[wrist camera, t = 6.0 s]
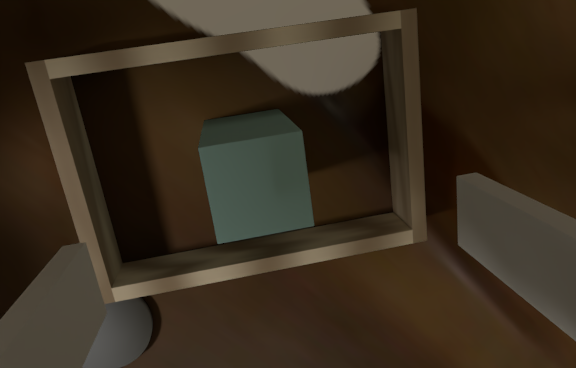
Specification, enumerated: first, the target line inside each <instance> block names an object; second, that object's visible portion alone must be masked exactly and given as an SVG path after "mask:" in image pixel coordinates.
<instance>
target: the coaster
mask: <svg viewBox="0 0 576 368" xmlns="http://www.w3.org/2000/svg"><path fill="white" fill-rule="evenodd" d="M105 307H106V311H107V314H106V316H105V318H104V321H103V323H102V325H101V327H100V329H99V331H98V334H97V336H96V338H95V340H94V342H93V345H92V347H91V349H90V351H89V353H88V356H87V358H86V360H85V362H84V364H83V367H82V368H120V367H123V366H125V365H127V364H129V363H131V362H132V361H134V360H135V359H137V358H138V357H139V356H140V355H141V354H142V353H143V352H144V350H145V349H146V347H147V345H148V343H149V341H150V338H151V334H152V328H153V319H152V314H151V311H150V309H149V307H148V305H147V304H146V302H145V301H144V300H143V299H142V297H138V298H133V299H128V300H123V301H118V302H113V303H108V304H105Z"/></svg>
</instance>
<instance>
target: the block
mask: <svg viewBox="0 0 576 368" xmlns="http://www.w3.org/2000/svg"><path fill="white" fill-rule="evenodd" d="M198 150H199V155H200V160H201V165H202V169H203V174H204V179H205V184H206V189H207V194H208V199H209V204H210V209H211V214H212V219H213V224H214V228H215V233H216V238H217V243H218V244H221V243H227V242H232V241H237V240H243V239H248V238H253V237H259V236H264V235H269V234H275V233H280V232H285V231H291V230H296V229H301V228H306V227H312V226H314V219H313V212H312V204H311V196H310V188H309V180H308V173H307V165H306V157H305V149H304V142H303V134H302V130H301V129H300V128H298V127H297V126H296V125H295V124H294V123H293V122H292V121H291V120H290V119H289V118H288V117H287V116H285V115H284V114H283V113H282V112H281V111H280V110H279V109H274V110H267V111H261V112H255V113H249V114H242V115H236V116H230V117H223V118H217V119H211V120H204V124H203V128H202V133H201V137H200V142H199V146H198Z"/></svg>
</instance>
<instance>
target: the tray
mask: <svg viewBox="0 0 576 368" xmlns="http://www.w3.org/2000/svg"><path fill="white" fill-rule="evenodd" d="M380 31H381V45H382V59H383V74H384V88H385V102H386V117H387V131H388V146H389V160H390V175H391V189H392V204H393V212H392V213H386V214H381V215H376V216H371V217H365V218H360V219H355V220H349V221H344V222H339V223H334V224H328V225H323V226H318V227H312V228H307V229H302V230H296V231H291V232H286V233H281V234H275V235H270V236H265V237H259V238H254V239H249V240H243V241H238V242H233V243H228V244H222V245H217V246H212V247H206V248H201V249H196V250H190V251H185V252H180V253H175V254H169V255H164V256H159V257H153V258H148V259H143V260H137V261H132V262H127V263H123V262H122V259H121V255H120V252H119V248H118V244H117V241H116V237H115V234H114V230H113V227H112V223H111V219H110V216H109V212H108V209H107V205H106V202H105V198H104V194H103V191H102V187H101V184H100V180H99V177H98V173H97V169H96V166H95V162H94V159H93V155H92V151H91V148H90V144H89V141H88V137H87V134H86V130H85V126H84V123H83V119H82V116H81V112H80V109H79V105H78V101H77V98H76V94H75V91H74V87H73V84H72V80H71V76H74V75H81V74H88V73H95V72H102V71H109V70H116V69H123V68H130V67H137V66H144V65H151V64H158V63H165V62H172V61H179V60H186V59H192V58H199V57H206V56H213V55H220V54H227V53H234V52H241V51H248V50H255V49H261V48H269V47H276V46H282V45H289V44H296V43H303V42H310V41H317V40H324V39H331V38H337V37H345V36H352V35H359V34H366V33H373V32H380ZM25 66H26V69H27V72H28V75H29V79H30V82H31V85H32V88H33V92H34V95H35V98H36V101H37V105H38V108H39V111H40V114H41V118H42V121H43V124H44V127H45V131H46V134H47V137H48V140H49V144H50V147H51V150H52V153H53V157H54V160H55V163H56V166H57V170H58V173H59V176H60V179H61V183H62V186H63V189H64V192H65V196H66V199H67V202H68V205H69V209H70V212H71V215H72V218H73V221H74V225H75V228H76V231H77V234H78V238H79V241H80V243H83V242H86V245H87V248H88V251H89V254H90V258H91V261H92V264H93V268H94V271H95V274H96V278H97V281H98V284H99V287H100V291H101V294H102V297H103V301H104V304H108V303H113V302H118V301H123V300H128V299H133V298H138V297H143V296H148V295H153V294H158V293H164V292H169V291H174V290H179V289H184V288H189V287H194V286H199V285H204V284H209V283H214V282H219V281H224V280H229V279H234V278H240V277H245V276H250V275H255V274H260V273H265V272H270V271H275V270H280V269H285V268H290V267H295V266H300V265H305V264H311V263H316V262H321V261H326V260H331V259H336V258H341V257H346V256H351V255H356V254H361V253H366V252H371V251H376V250H381V249H387V248H392V247H397V246H402V245H407V244H412V243H417V242H422V241H427V228H426V206H425V183H424V161H423V139H422V116H421V94H420V72H419V49H418V27H417V8H414V9H406V10H399V11H392V12H385V13H378V14H371V15H364V16H356V17H349V18H342V19H335V20H328V21H321V22H314V23H306V24H299V25H292V26H286V27H278V28H270V29H263V30H257V31H249V32H242V33H235V34H227V35H220V36H213V37H206V38H199V39H192V40H184V41H177V42H170V43H163V44H156V45H149V46H141V47H134V48H127V49H120V50H113V51H106V52H98V53H91V54H84V55H77V56H70V57H63V58H55V59H48V60H41V61H34V62H27V63H25Z"/></svg>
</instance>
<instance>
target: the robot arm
mask: <svg viewBox="0 0 576 368" xmlns="http://www.w3.org/2000/svg"><path fill="white" fill-rule="evenodd" d="M457 219H458V245H459V246H460V247H461V248H463V249H464V250H465V251H466V252H467V253H469V254H470V255H471V256H472V257H474V258H475V259H476V260H477V261H478V262H480V263H481V264H482V265H483V266H485V267H486V268H487V269H488V270H489V271H491V272H492V273H493V274H494V275H496V276H497V277H498V278H499V279H500V280H502V281H503V282H504V283H505V284H507V285H508V286H509V287H510V288H511V289H513V290H514V291H515V292H516V293H518V294H519V295H520V296H521V297H522V298H524V299H525V300H526V301H527V302H529V303H530V304H531V305H532V306H533V307H535V308H536V309H537V310H538V311H540V312H541V313H542V314H543V315H544V316H546V317H547V318H548V319H549V320H551V321H552V322H553V323H554V324H555V325H557V326H558V327H559V328H560V329H562V330H563V331H564V332H565V333H566V334H568V335H569V336H570V337H571V338H573V339H574V340H575V341H576V219H575V218H572V217H570V216H568V215H566V214H563V213H561V212H559V211H557V210H555V209H553V208H551V207H549V206H546V205H544V204H542V203H540V202H538V201H536V200H534V199H532V198H529V197H527V196H525V195H523V194H521V193H519V192H517V191H515V190H512V189H510V188H508V187H506V186H504V185H502V184H500V183H498V182H495V181H493V180H491V179H489V178H487V177H485V176H483V175H481V174H479V173H471V174H465V175H460V176H457ZM106 314H107V311H106V307H105V304H104V301H103V297H102V294H101V291H100V287H99V284H98V281H97V278H96V274H95V271H94V268H93V264H92V261H91V258H90V254H89V251H88V248H87V245H86V242H83V243H78V244H72V245H67V246H62V247H61V248H60V250H59V251H58V252H57V253H56V254H55V255H54V257H53V258H52V259H51V260H50V261H49V263H48V264H47V265H46V266H45V267H44V268H43V270H42V271H41V272H40V273H39V274H38V276H37V277H36V278H35V279H34V280H33V281H32V283H31V284H30V285H29V286H28V287H27V289H26V290H25V291H24V292H23V293H22V295H21V296H20V297H19V298H18V299H17V300H16V302H15V303H14V304H13V305H12V306H11V308H10V309H9V310H8V311H7V312H6V313H5V315H4V316H3V317H2V318H1V319H0V368H82V367H83V364H84V362H85V360H86V358H87V356H88V353H89V351H90V349H91V347H92V345H93V342H94V340H95V338H96V336H97V334H98V331H99V329H100V327H101V325H102V323H103V321H104V318H105V316H106Z"/></svg>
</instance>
